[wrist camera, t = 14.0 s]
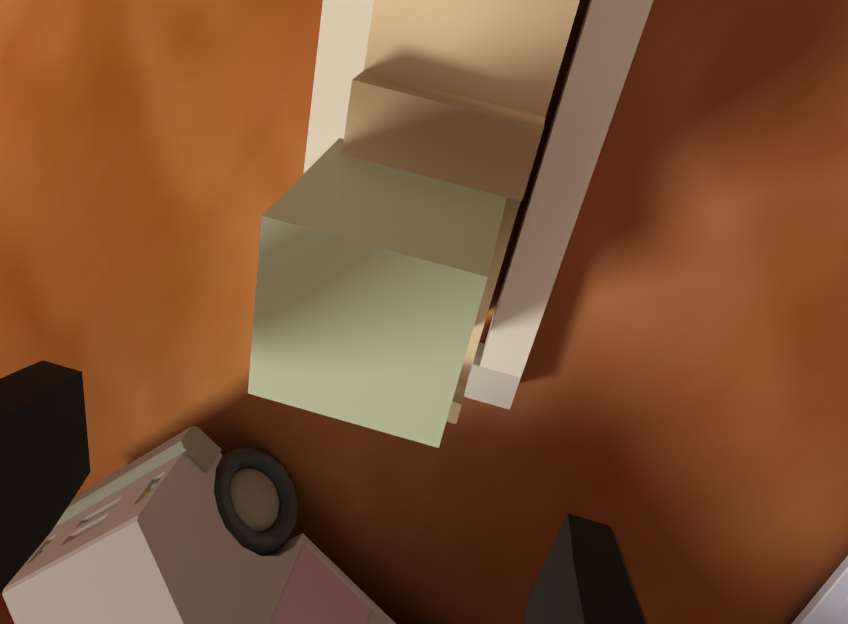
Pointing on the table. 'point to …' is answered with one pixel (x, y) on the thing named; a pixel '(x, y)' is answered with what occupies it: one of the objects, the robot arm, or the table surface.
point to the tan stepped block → (460, 102)
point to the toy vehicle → (186, 549)
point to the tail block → (370, 294)
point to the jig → (555, 179)
